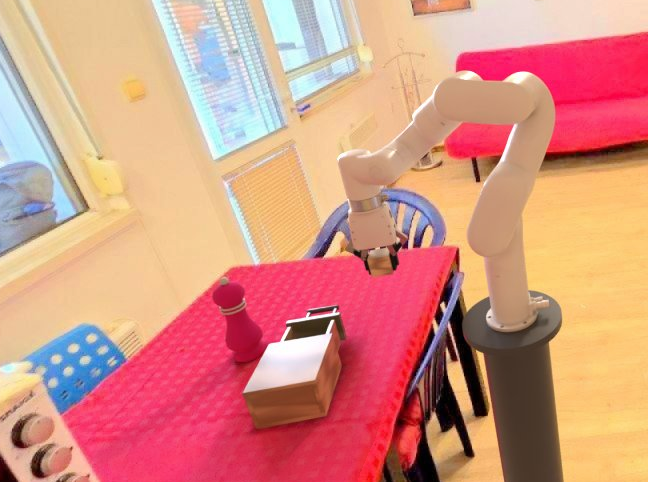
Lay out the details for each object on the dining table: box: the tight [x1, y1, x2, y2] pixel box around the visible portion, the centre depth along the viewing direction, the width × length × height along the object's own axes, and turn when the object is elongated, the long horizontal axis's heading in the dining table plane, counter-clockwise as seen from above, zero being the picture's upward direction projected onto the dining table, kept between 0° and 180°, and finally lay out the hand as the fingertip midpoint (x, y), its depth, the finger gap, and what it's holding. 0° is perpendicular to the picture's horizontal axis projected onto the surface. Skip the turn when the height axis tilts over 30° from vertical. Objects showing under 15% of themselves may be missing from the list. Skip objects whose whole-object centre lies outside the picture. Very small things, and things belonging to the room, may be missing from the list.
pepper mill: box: [211, 276, 266, 363], centre depth 116 cm, size 7×7×20 cm
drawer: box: [279, 304, 348, 351], centre depth 116 cm, size 21×11×7 cm, turn 11°
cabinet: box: [242, 333, 343, 430], centre depth 103 cm, size 15×13×9 cm
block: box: [367, 247, 395, 278], centre depth 128 cm, size 5×5×5 cm
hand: (383, 269), depth 128 cm, fingers closed on block, 5 cm apart
